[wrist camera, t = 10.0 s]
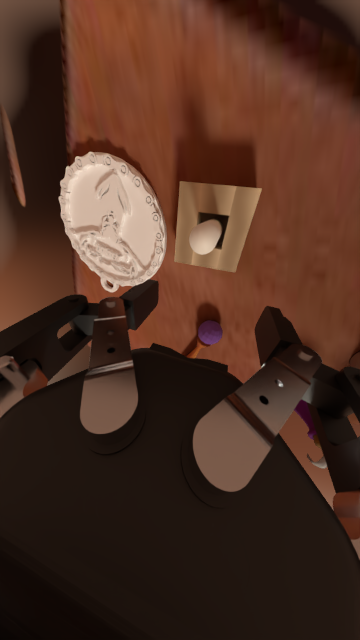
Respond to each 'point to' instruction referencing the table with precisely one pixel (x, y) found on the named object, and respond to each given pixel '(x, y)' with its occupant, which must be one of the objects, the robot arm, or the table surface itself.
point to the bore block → (214, 203)
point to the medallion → (113, 219)
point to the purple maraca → (206, 336)
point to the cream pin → (205, 236)
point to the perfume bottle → (310, 429)
